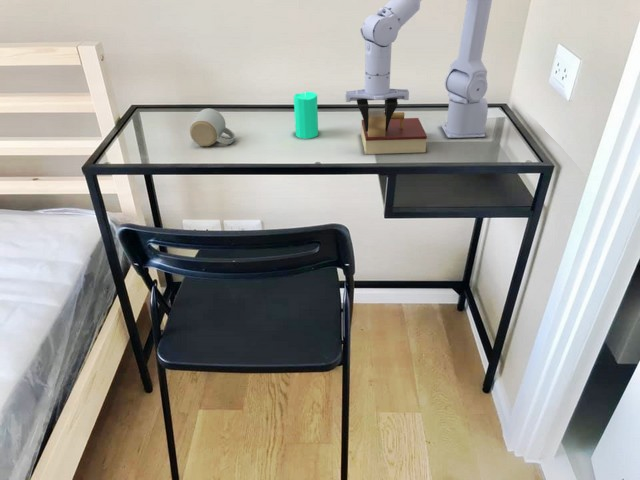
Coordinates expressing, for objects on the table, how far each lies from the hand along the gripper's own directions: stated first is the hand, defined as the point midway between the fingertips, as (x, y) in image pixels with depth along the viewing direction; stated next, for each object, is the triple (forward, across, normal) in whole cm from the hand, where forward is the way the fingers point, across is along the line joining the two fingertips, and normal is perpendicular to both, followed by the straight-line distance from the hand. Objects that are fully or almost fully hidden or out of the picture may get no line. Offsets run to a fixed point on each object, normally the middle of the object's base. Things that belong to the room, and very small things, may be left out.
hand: (375, 129), depth 127 cm
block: (+1, 0, 0) cm, 1 cm away
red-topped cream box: (+5, +5, +4) cm, 8 cm away
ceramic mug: (+6, -41, +9) cm, 42 cm away
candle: (+6, -17, +12) cm, 21 cm away
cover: (+2, +5, +4) cm, 6 cm away
